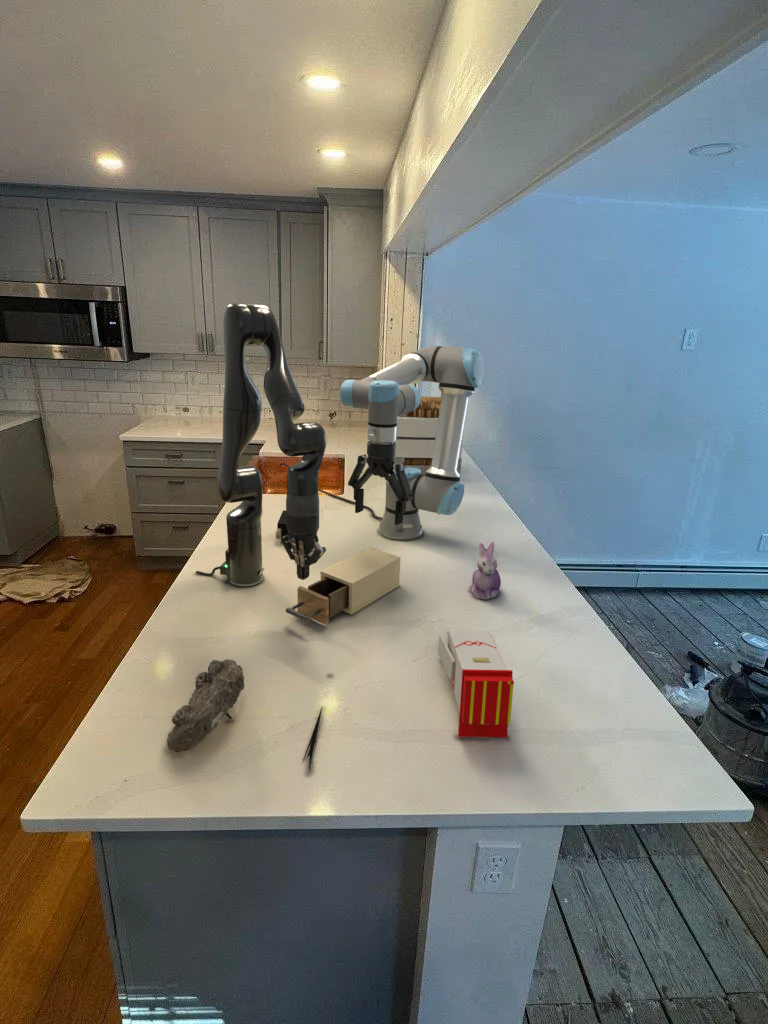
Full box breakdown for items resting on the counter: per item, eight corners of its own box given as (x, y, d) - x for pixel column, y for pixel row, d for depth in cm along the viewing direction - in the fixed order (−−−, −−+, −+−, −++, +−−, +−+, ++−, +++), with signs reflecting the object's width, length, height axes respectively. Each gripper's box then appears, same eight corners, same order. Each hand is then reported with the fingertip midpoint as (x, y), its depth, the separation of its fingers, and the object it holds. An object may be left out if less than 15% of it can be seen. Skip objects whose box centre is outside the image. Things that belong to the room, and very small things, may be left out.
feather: (331, 679, 122) (336, 673, 122) (307, 777, 96) (313, 769, 95) (324, 675, 122) (329, 669, 121) (298, 772, 95) (304, 764, 95)
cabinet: (351, 614, 146) (352, 583, 143) (320, 601, 152) (320, 571, 149) (399, 586, 162) (400, 557, 159) (369, 574, 168) (370, 547, 165)
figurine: (482, 603, 154) (488, 553, 149) (461, 587, 163) (466, 539, 158) (510, 597, 158) (516, 547, 153) (487, 581, 167) (493, 534, 162)
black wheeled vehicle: (295, 549, 186) (301, 528, 200) (295, 529, 183) (300, 509, 196) (275, 549, 186) (282, 527, 199) (274, 528, 183) (281, 508, 196)
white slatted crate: (382, 463, 289) (386, 382, 275) (445, 464, 293) (451, 384, 279) (390, 482, 257) (394, 392, 243) (460, 483, 261) (468, 394, 247)
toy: (488, 613, 130) (523, 677, 101) (484, 667, 133) (517, 744, 104) (435, 612, 130) (455, 676, 101) (432, 666, 133) (451, 743, 103)
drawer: (309, 634, 135) (309, 608, 132) (281, 620, 140) (281, 595, 138) (375, 595, 154) (376, 572, 152) (348, 584, 160) (348, 562, 157)
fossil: (192, 660, 117) (244, 628, 112) (224, 691, 120) (276, 661, 115) (142, 746, 98) (202, 712, 93) (182, 779, 101) (242, 748, 96)
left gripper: (270, 507, 130) (272, 575, 136) (312, 521, 123) (312, 592, 129) (293, 499, 136) (294, 565, 142) (335, 512, 129) (334, 581, 135)
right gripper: (336, 435, 152) (335, 510, 159) (413, 452, 138) (408, 532, 145) (353, 431, 158) (352, 503, 165) (429, 447, 144) (424, 525, 151)
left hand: (303, 578), depth 135 cm, fingers closed
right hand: (378, 517), depth 155 cm, fingers open, 13 cm apart
